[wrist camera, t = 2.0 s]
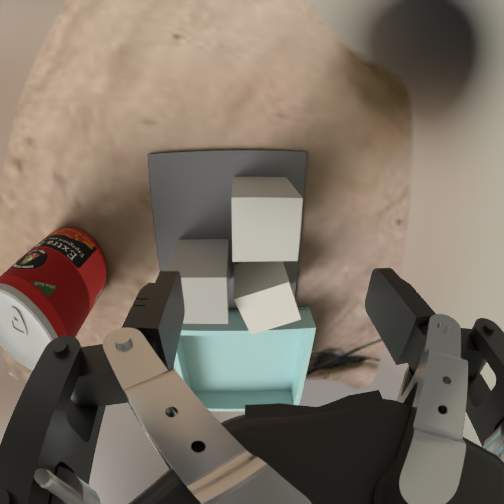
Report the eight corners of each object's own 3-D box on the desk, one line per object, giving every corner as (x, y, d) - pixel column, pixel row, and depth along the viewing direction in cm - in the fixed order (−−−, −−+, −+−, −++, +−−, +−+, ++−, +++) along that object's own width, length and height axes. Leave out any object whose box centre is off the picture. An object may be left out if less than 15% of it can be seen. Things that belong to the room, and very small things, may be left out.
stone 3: (234, 265, 24) (233, 299, 20) (279, 250, 24) (288, 281, 19) (248, 297, 26) (250, 334, 21) (290, 284, 26) (301, 319, 21)
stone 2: (233, 176, 21) (231, 197, 16) (285, 177, 21) (302, 198, 16) (233, 226, 23) (232, 261, 17) (283, 226, 23) (297, 261, 18)
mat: (149, 153, 20) (147, 154, 20) (305, 151, 21) (306, 152, 20) (167, 304, 26) (166, 307, 26) (293, 303, 27) (293, 306, 27)
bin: (171, 308, 27) (165, 329, 24) (308, 306, 27) (316, 327, 24) (189, 389, 32) (186, 410, 30) (294, 388, 33) (298, 408, 30)
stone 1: (177, 239, 23) (161, 277, 18) (228, 238, 23) (226, 277, 18) (182, 279, 25) (169, 323, 19) (229, 279, 25) (228, 323, 20)
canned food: (104, 225, 23) (36, 296, 13) (115, 300, 26) (73, 384, 16) (40, 223, 22) (-32, 281, 12) (56, 292, 25) (6, 362, 16)
